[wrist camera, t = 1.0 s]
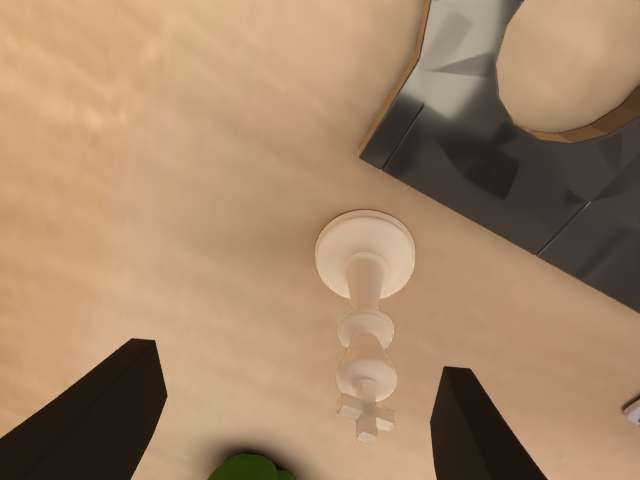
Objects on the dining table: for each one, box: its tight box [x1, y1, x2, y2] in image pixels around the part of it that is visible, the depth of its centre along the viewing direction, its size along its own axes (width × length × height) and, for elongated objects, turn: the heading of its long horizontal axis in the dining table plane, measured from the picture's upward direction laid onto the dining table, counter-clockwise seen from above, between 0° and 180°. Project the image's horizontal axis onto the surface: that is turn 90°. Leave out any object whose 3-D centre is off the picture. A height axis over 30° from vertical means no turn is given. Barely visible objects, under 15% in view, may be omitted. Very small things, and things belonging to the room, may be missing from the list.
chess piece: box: [315, 210, 416, 444], centre depth 16 cm, size 5×5×10 cm
